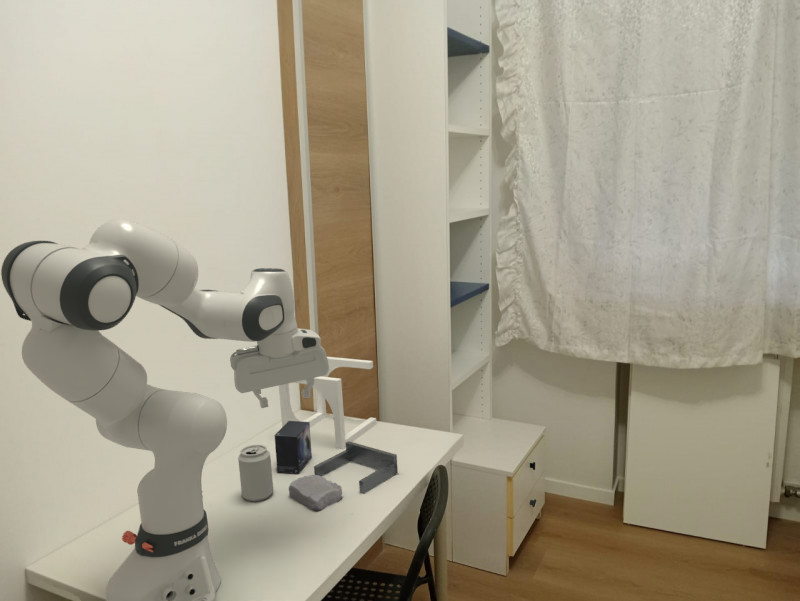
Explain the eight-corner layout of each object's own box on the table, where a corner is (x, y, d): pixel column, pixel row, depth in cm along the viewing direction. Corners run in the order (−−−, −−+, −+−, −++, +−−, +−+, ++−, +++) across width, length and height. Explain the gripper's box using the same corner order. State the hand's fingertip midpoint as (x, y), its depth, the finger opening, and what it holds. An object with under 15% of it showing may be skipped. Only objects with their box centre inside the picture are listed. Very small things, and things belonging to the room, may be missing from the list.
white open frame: (321, 416, 216) (316, 355, 212) (376, 424, 207) (372, 360, 203) (283, 440, 198) (277, 374, 194) (342, 449, 189) (337, 380, 185)
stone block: (318, 490, 170) (284, 497, 163) (320, 471, 169) (286, 477, 163) (347, 507, 161) (313, 515, 154) (350, 488, 161) (316, 494, 154)
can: (235, 500, 163) (230, 452, 160) (255, 486, 169) (250, 441, 167) (261, 505, 160) (256, 457, 157) (279, 491, 166) (275, 444, 164)
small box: (300, 474, 175) (296, 436, 173) (276, 473, 176) (272, 435, 174) (313, 457, 185) (310, 420, 183) (290, 456, 186) (287, 420, 184)
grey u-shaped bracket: (363, 493, 163) (362, 474, 162) (314, 477, 173) (313, 458, 172) (397, 473, 173) (396, 454, 172) (349, 458, 183) (348, 441, 182)
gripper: (231, 355, 138) (240, 418, 142) (327, 336, 145) (334, 396, 149) (226, 347, 144) (235, 407, 147) (319, 329, 151) (325, 387, 155)
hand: (285, 401), depth 148 cm, fingers open, 8 cm apart
